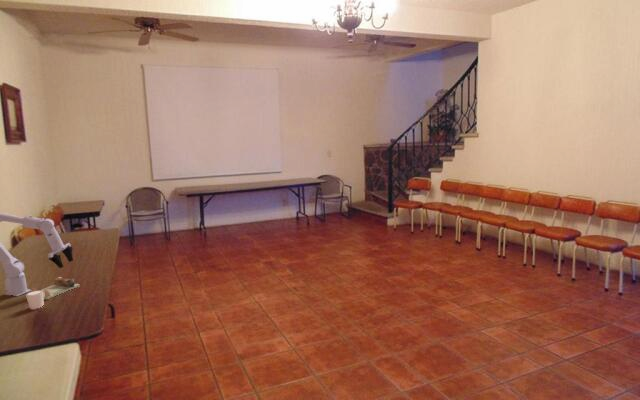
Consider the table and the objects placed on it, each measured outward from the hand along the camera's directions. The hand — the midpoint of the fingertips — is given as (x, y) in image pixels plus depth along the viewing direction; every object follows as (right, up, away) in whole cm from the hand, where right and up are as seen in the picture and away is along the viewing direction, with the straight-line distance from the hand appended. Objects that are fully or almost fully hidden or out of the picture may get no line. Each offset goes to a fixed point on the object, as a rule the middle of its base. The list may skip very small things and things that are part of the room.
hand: (66, 264), depth 233 cm
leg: (+1, -10, -2) cm, 11 cm away
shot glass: (+1, -16, -26) cm, 31 cm away
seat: (-2, -13, -7) cm, 15 cm away
